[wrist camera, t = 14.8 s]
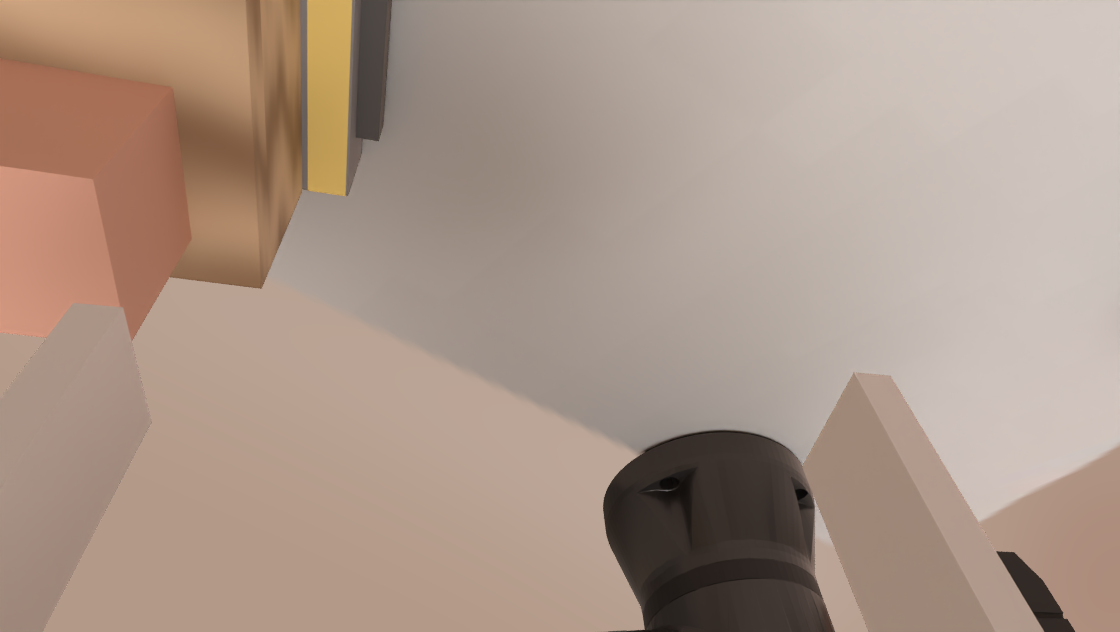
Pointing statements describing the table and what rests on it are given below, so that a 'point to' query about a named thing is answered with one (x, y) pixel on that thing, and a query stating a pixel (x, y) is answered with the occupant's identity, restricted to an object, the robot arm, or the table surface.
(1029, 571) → the robot arm
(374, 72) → the block
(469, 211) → the table surface
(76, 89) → the salmon pink cube
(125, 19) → the pallet
